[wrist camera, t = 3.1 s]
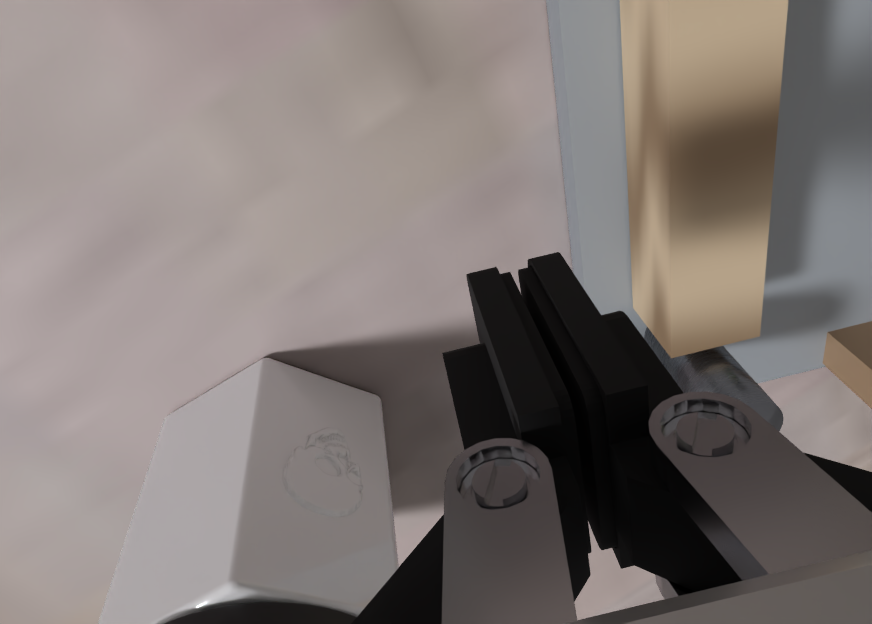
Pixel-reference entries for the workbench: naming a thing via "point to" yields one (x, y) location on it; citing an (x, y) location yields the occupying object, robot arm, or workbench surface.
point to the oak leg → (700, 163)
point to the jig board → (791, 194)
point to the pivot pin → (717, 377)
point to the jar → (261, 507)
